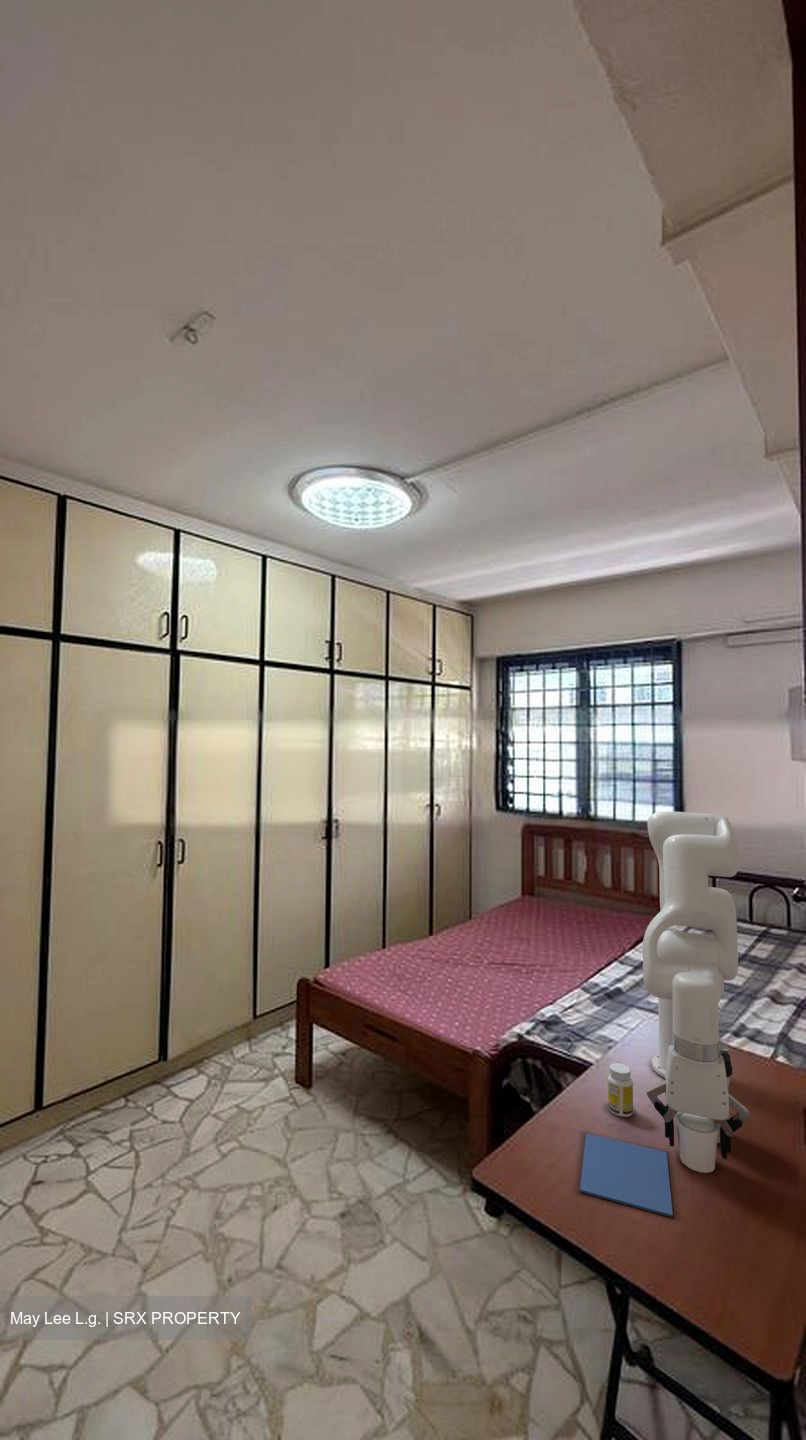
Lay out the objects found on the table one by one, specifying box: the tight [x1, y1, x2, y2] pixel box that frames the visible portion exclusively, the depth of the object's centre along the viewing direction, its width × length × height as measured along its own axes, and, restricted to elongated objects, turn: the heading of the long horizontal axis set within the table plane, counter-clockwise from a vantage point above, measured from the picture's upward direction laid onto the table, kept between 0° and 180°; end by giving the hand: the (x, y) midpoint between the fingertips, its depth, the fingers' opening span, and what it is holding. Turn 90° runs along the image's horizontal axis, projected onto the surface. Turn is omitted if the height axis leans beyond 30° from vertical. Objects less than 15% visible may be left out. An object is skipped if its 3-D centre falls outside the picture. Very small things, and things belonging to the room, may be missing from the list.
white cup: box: [675, 1112, 718, 1174], centre depth 104 cm, size 7×7×7 cm
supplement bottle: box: [607, 1062, 634, 1118], centre depth 119 cm, size 5×5×8 cm
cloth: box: [579, 1132, 674, 1218], centre depth 101 cm, size 16×14×1 cm
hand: (697, 1147), depth 104 cm, fingers open, 7 cm apart
